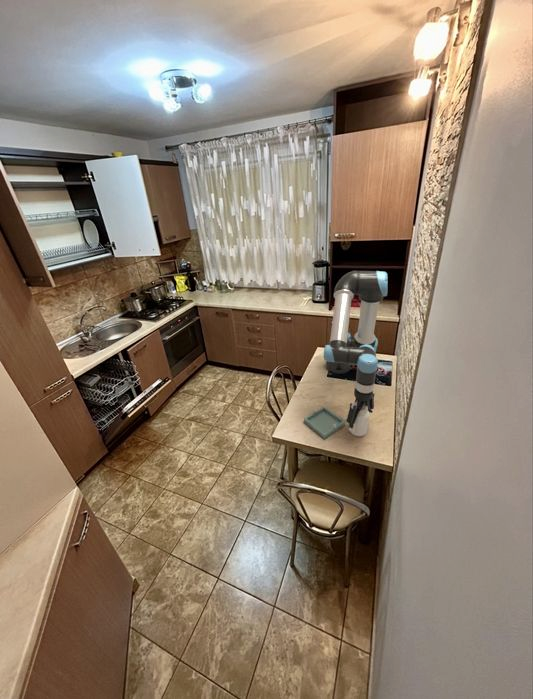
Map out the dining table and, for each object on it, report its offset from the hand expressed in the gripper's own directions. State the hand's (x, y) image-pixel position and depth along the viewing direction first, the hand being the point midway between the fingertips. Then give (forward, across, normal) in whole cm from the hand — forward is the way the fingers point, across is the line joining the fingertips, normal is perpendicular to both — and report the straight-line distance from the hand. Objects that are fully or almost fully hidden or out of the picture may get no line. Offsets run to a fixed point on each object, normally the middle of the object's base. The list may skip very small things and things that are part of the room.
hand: (358, 426), depth 129 cm
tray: (+2, +9, -13) cm, 16 cm away
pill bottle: (+3, 0, 0) cm, 3 cm away
